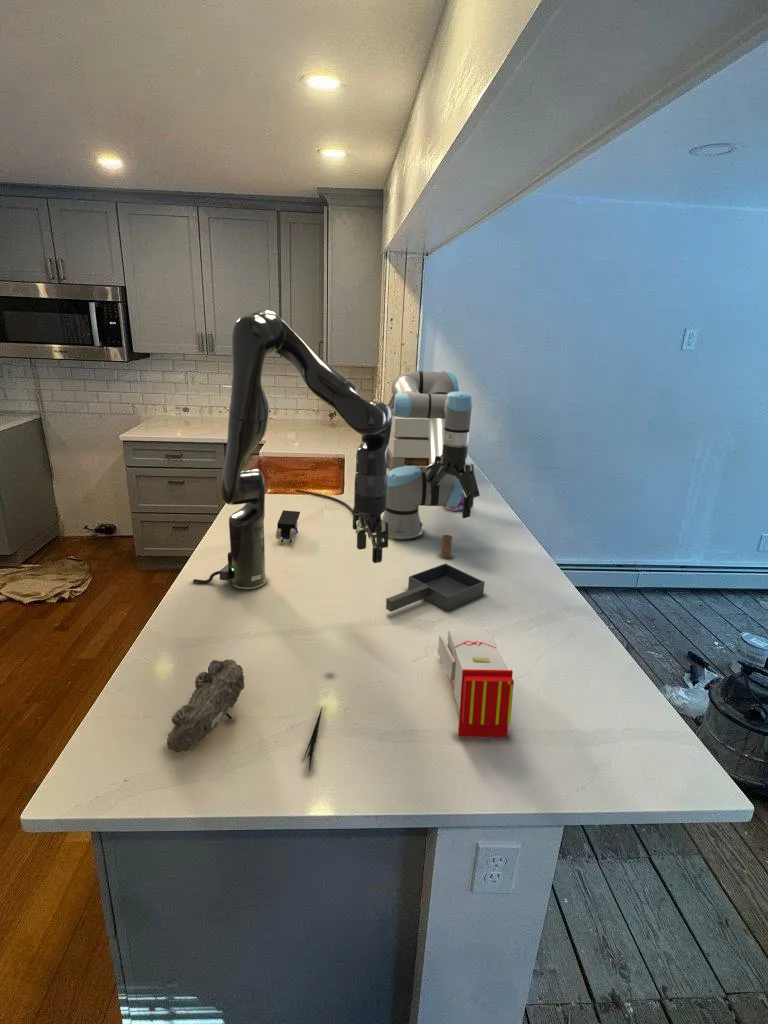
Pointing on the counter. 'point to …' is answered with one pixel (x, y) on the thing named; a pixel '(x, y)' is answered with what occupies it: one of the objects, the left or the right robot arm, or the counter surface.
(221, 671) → the fossil
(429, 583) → the tray
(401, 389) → the right robot arm
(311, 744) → the feather
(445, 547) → the peg
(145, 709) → the counter surface
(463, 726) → the toy
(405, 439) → the white slatted crate
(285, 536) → the figurine character
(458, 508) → the figurine
